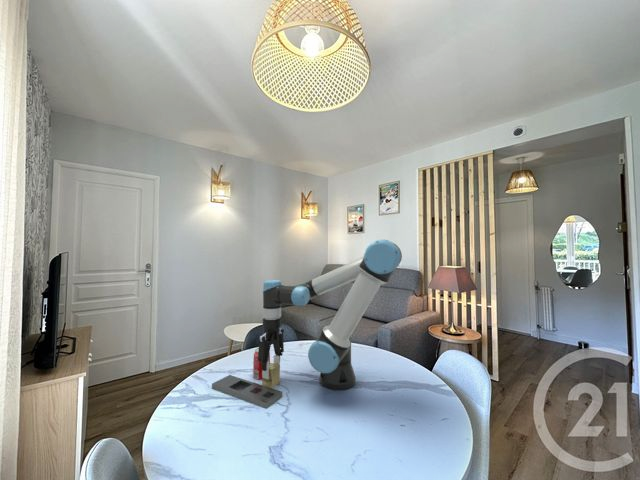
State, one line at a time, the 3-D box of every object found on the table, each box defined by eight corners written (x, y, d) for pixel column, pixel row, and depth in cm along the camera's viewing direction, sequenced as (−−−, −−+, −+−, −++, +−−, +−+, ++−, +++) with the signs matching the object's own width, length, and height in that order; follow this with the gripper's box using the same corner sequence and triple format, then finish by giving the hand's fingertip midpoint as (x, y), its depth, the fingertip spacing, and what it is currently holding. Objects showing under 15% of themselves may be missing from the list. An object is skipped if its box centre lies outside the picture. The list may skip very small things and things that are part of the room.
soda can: (271, 374, 120) (272, 347, 120) (266, 381, 113) (267, 352, 113) (256, 373, 120) (256, 346, 121) (250, 380, 113) (251, 352, 114)
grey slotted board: (282, 398, 100) (282, 391, 100) (266, 410, 92) (266, 402, 92) (229, 380, 113) (229, 374, 113) (211, 390, 106) (211, 383, 106)
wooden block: (279, 384, 110) (279, 365, 111) (271, 390, 106) (272, 369, 106) (270, 382, 113) (270, 362, 113) (262, 387, 108) (262, 366, 109)
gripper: (279, 312, 121) (278, 364, 120) (248, 321, 104) (247, 382, 103) (292, 314, 117) (292, 368, 116) (263, 324, 101) (262, 387, 99)
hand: (271, 374), depth 110 cm, fingers open, 6 cm apart
